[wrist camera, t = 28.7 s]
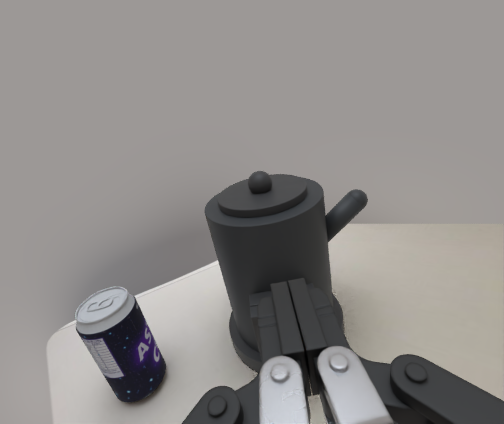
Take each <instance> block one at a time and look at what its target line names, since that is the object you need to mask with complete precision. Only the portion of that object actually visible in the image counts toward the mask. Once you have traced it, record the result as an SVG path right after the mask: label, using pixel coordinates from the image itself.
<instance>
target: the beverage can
mask: <svg viewBox="0 0 504 424" xmlns="http://www.w3.org/2000/svg"><path fill="white" fill-rule="evenodd" d="M75 319H76V321H77V324H76V330H77V332H78V334H79V336H80V337H81V339H82V340H83V342H84V344H85V345H86V347H87V349H88V350H89V352H90V354H91V355H92V357H93V358H94V360H95V362H96V363H97V365H98V367H99V368H100V370H101V372H102V373H103V375H104V376H105V378H106V380H107V381H108V383H109V385H110V386H111V388H112V390H113V391H114V393H115V394H116V396H117V398H118V399H119V400H121V401H123V402H135V401H138V400H141V399H143V398H145V397H147V396H149V395H150V394H151V393H152V392H153V391H154V390H155V389H156V388H157V387H158V385H159V384H160V382H161V381H162V379H163V377H164V374H165V370H166V365H165V361H164V359H163V357H162V355H161V353H160V350H159V348H158V346H157V344H156V342H155V340H154V337H153V335H152V333H151V331H150V329H149V327H148V324H147V322H146V320H145V318H144V316H143V314H142V311H141V309H140V307H139V305H138V303H137V301H136V299H135V297H134V296H133V295H131V294H130V293H128V291H127V290H126V289H125V288H123V287H119V286H116V287H109V288H106V289H103V290H101V291H98V292H97V293H95V294H93V295H91V296H90V297H88V298H87V299H86V300H85V301H84V302H82V303H81V305H80V306H79V307H78V309H77V310H76V313H75Z"/></svg>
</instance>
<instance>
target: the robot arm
mask: <svg viewBox="0 0 504 424" xmlns="http://www.w3.org/2000/svg"><path fill="white" fill-rule="evenodd" d="M270 286H271V291H272V296H270V297H264V298H260V301H259V303H258V306H257V317H258V327H259V338H260V348H261V359H262V364H261V368H260V371H259V373H258V375H257V376H256V377H255V378H254V380H252V381H251V382H250V383H248V384H247V385H245V386H243V387H241V388H240V389H238V390H236V391H234V390H233V389H232V388H230V387H227V386H218V387H215V388H213V389H211V390H209V391H208V392H207V393H205V394H204V396H203V397H202V398H201V399H200V401H199V402H198V403H197V404H196V406H195V407H194V408H193V410H192V411H191V412H190V414H189V415H188V416H187V418H186V419H185V420H184V421H183V423H182V424H310V409H309V403H308V396H311V390H310V384H311V388H312V392H313V395H317V394H320V398H321V402H322V405H323V411H324V417H325V421H326V424H504V401H503V400H501V399H499V398H497V397H495V396H493V395H491V394H490V393H488V392H486V391H484V390H482V389H480V388H478V387H477V386H475V385H473V384H471V383H469V382H467V381H465V380H463V379H462V378H460V377H458V376H456V375H454V374H452V373H450V372H449V371H447V370H445V369H443V368H441V367H439V366H437V365H436V364H434V363H432V362H430V361H428V360H426V359H424V358H422V357H419V356H416V355H410V354H406V355H400V356H398V357H396V358H395V359H394V360H393V361H392V363H391V364H387V363H379V362H373V361H369V360H366V359H364V358H362V357H360V356H358V355H357V354H356V353H355V352H354V351H353V350H352V349H351V348H350V346H349V344H348V342H347V340H346V337H345V335H344V333H343V330H342V328H341V326H340V324H339V321H338V319H337V317H336V314H335V312H334V310H333V307H332V306H331V303H330V301H329V298H328V296H327V294H326V293H324V292H323V291H322V290H321V289H320V288H319V287H318V288H313V289H308V287H307V285H306V282H305V279H304V278H300V279H294V280H289V281H288V285H287V282H286V281H284V282H278V283H273V284H270ZM288 287H289V289H288ZM308 376H309V377H308ZM309 380H310V383H309Z"/></svg>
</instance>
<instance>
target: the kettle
mask: <svg viewBox="0 0 504 424" xmlns="http://www.w3.org/2000/svg"><path fill="white" fill-rule="evenodd" d="M367 201H368V199H367V196H366V194H365V193H364V192H363V191H361V190H352V191H350V192H349V193H348V194H347V195H346V196H345V197H344V198H343V199H342V200H341V201H340V202H339V203H338V204H337V205H336V206H335V207H334V208H333V209H332V210H331V211H330V212H329V213H328V214H327V215H326V216H325V206H324V205H325V204H324V193H323V189H322V187H321V186H320V185H319V184H318V183H317V182H315V181H313V180H310V179H306V178H301V177H297V176H293V175H284V174H276V175H268V174H267V173H266V172H263V171H257V172H254V173H253V174H252V175H251V176H250V177H249V179H246V180H243V181H240V182H238V183H235V184H233V185H231V186H229V187H228V188H226V189H225V190H223V191H222V192H221V193H219V194H217V195H216V196H214V197H213V198H212V199H211V200H210V201H209V202H208V203H207V205H206V207H205V215H206V219H207V222H208V226H209V230H210V233H211V237H212V240H213V243H214V247H215V251H216V254H217V258H218V261H219V265H220V268H221V272H222V275H223V279H224V282H225V286H226V289H227V293H228V296H229V300H230V303H231V307H232V313H231V317H230V322H229V329H230V334H231V338H232V341H233V344H234V348H235V350H236V352H237V354H238V356H239V357H240V359H241V360H242V361H243V362H244V363H245V364H246V365H247V366H249V367H250V368H251V369H253V370H255V371H256V372H258V373H259V371H260V368H261V364H262V359H261V348H260V338H259V327H258V317H257V306H258V303H259V301H260V298H264V297H270V296H272V291H271V286H270V284H273V283H278V282H284V281H286V282H287V285H288V281H289V280H294V279H300V278H304V279H305V282H306V285H307V287H308V289H313V288H318V287H319V288H320V289H321V290H322V291H323V292H324V293H326V294H327V296H328V298H329V301H330V303H331V306H332V307H333V310H334V312H335V314H336V317H337V319H338V321H339V324H340V326H341V328H342V330H343V333H344V325H343V314H342V309H341V306H340V304H339V302H338V301H337V299H336V298H335V296H334V295H333V294H332V285H331V274H330V262H329V251H328V242H329V241H330V240H331V239H332V238H333V237H334V236H335V235H336V234H337V233H338V232H339V231H340V230H341V229H343V228H344V227H345V226H346V225H347V224H348V223H349V222H350V221H351V220H352V219H353V218H354V217H355V216H356V215H357V214H358V213H359V212H360V211H361V210H362V209H363V208H364V207H365V206H366V204H367ZM288 289H289V287H288Z"/></svg>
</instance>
